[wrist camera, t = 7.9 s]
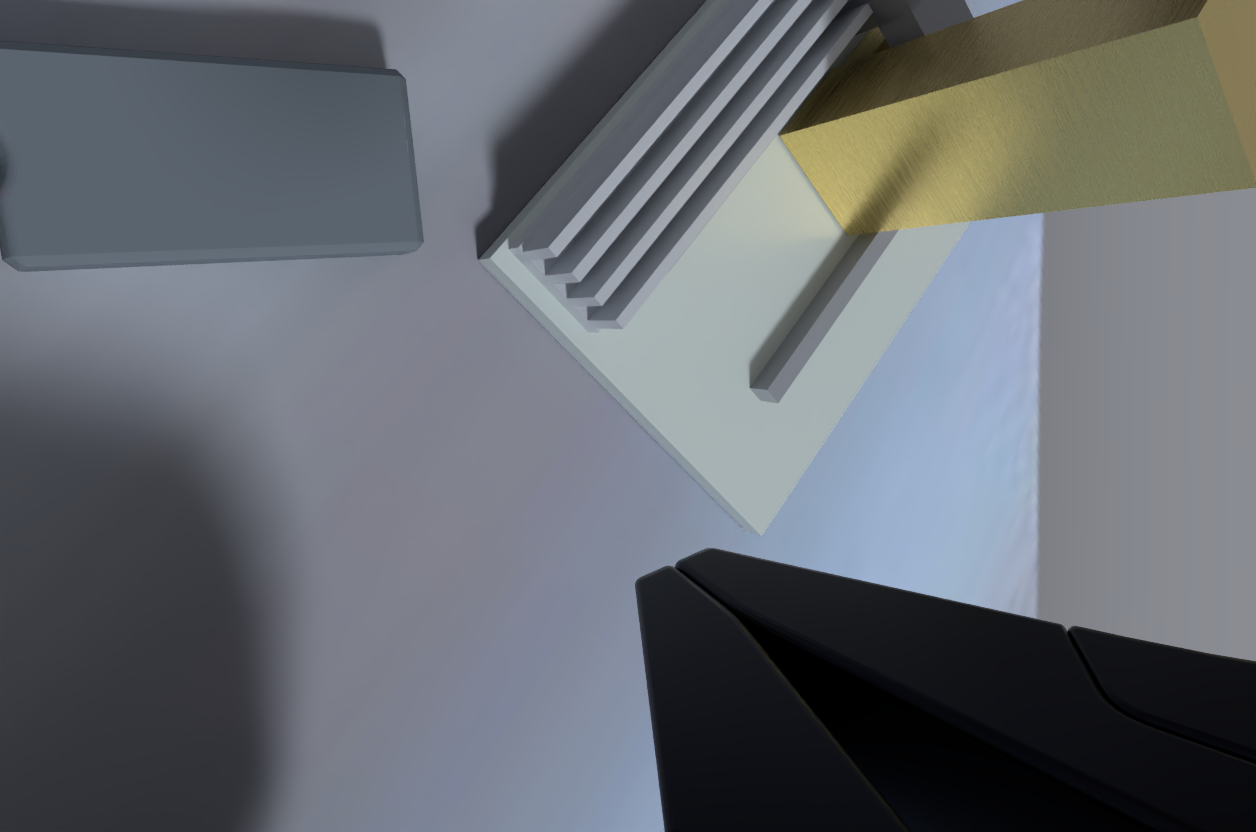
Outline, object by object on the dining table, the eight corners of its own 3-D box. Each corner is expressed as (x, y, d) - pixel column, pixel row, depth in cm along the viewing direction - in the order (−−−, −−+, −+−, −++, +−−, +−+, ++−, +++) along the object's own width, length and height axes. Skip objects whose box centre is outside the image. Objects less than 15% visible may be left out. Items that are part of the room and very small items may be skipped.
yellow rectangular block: (847, 235, 26) (1257, 187, 16) (779, 135, 24) (1197, 16, 14) (938, 109, 27) (1358, -2, 18) (880, 6, 25) (1316, -176, 16)
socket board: (745, 530, 26) (835, 561, 23) (478, 260, 20) (545, 248, 17) (978, 183, 30) (1083, 166, 27) (810, -118, 25) (915, -187, 21)
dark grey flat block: (403, 256, 20) (429, 250, 18) (-170, 284, 15) (-210, 278, 13) (383, 88, 19) (408, 65, 18) (-224, 53, 14) (-272, 15, 12)
